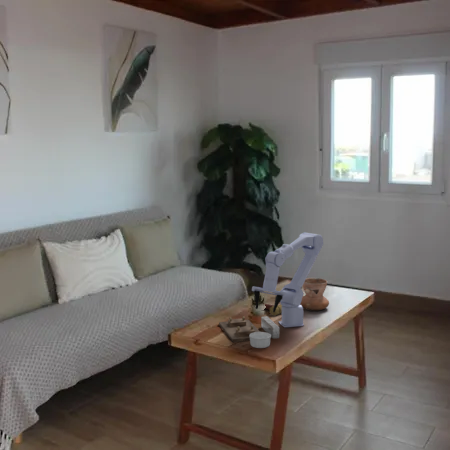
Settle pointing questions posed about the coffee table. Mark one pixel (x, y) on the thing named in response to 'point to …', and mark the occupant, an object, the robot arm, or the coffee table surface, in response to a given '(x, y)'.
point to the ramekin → (260, 339)
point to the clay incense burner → (314, 294)
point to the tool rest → (238, 329)
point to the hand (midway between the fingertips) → (265, 310)
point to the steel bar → (270, 327)
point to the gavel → (277, 311)
